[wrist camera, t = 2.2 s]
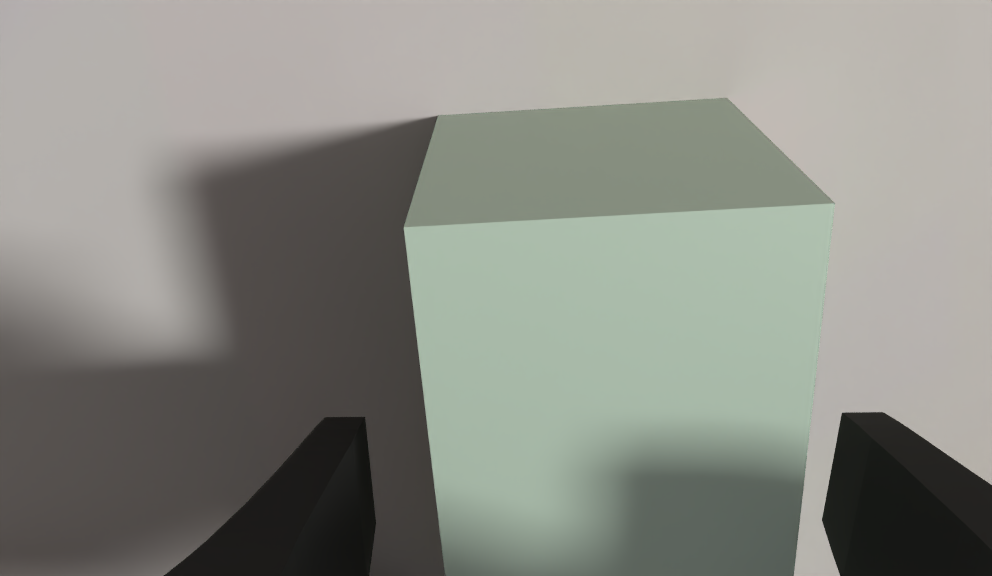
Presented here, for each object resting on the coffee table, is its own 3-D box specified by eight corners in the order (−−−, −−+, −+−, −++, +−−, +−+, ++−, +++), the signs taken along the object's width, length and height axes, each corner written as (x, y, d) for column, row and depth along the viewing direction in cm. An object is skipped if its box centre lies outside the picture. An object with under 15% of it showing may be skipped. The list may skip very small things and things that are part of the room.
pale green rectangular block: (439, 113, 14) (403, 227, 9) (725, 95, 13) (834, 203, 9) (483, 586, 18) (474, 825, 13) (701, 578, 18) (766, 817, 13)
